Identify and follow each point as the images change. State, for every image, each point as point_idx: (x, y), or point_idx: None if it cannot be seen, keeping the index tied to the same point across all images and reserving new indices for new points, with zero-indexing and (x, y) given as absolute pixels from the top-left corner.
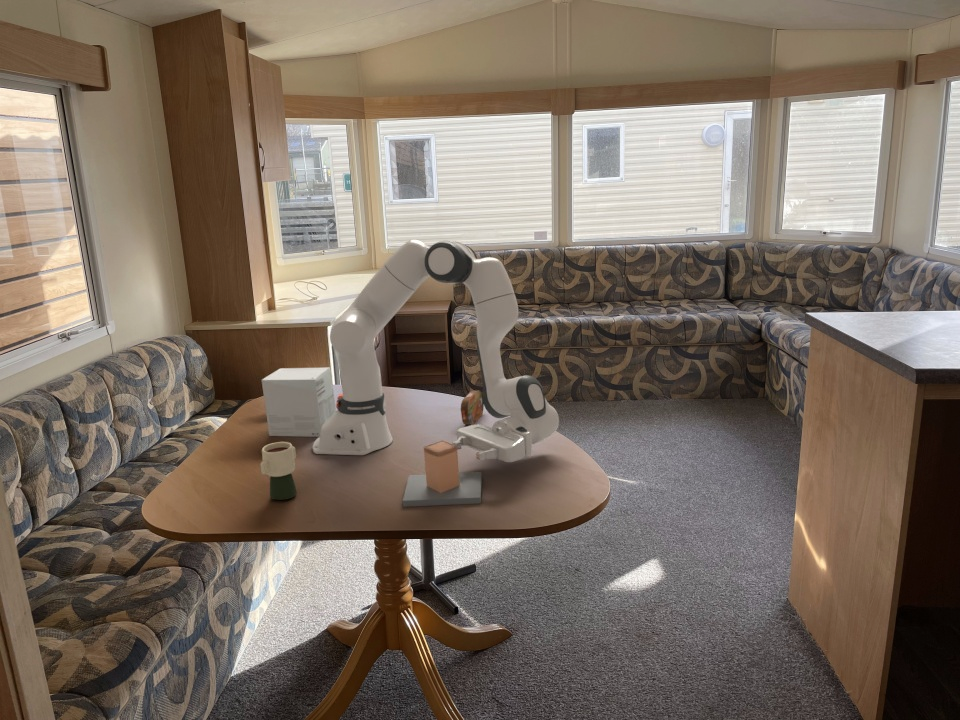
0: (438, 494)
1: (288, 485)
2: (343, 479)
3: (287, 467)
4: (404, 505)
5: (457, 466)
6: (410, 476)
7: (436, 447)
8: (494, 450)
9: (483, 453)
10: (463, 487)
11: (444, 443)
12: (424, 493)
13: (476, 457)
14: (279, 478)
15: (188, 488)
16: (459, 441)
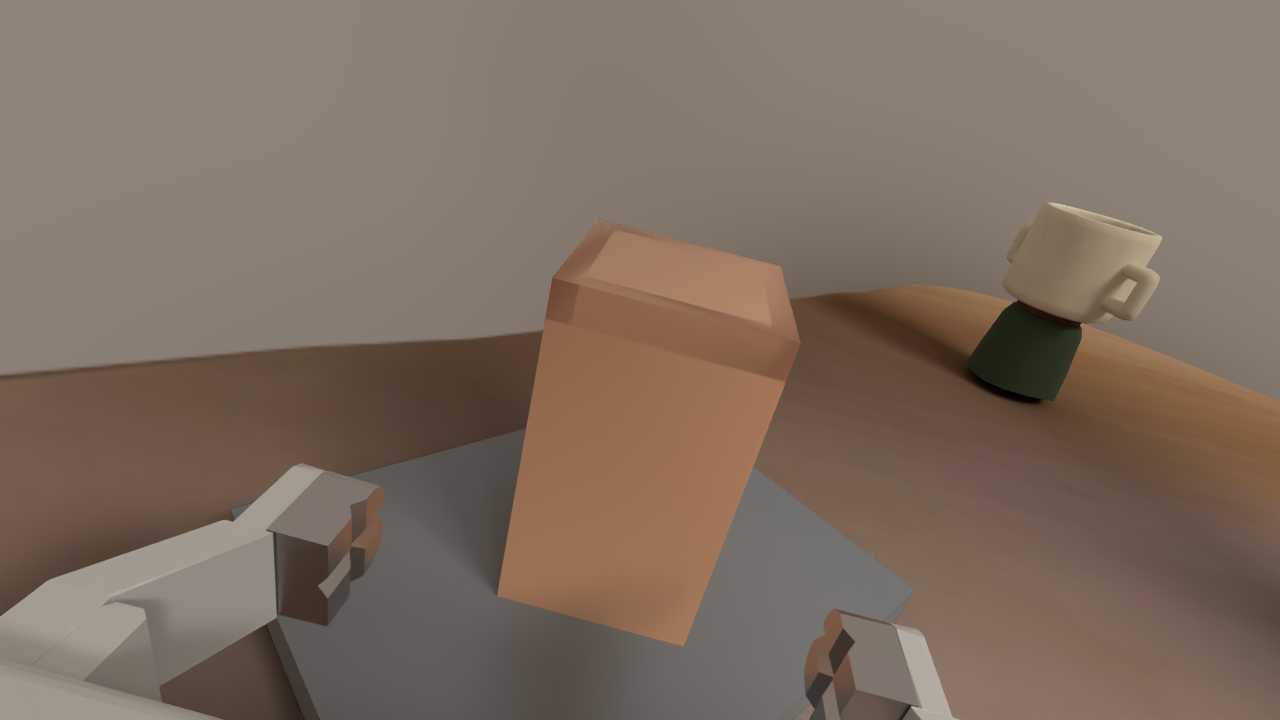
0: None
1: (996, 333)
2: (1088, 513)
3: (1021, 269)
4: None
5: (523, 453)
6: (890, 579)
7: (699, 266)
8: (34, 598)
9: (263, 502)
10: (446, 581)
11: (717, 306)
12: None
13: (381, 532)
14: (1014, 303)
15: (1175, 373)
16: (885, 692)
